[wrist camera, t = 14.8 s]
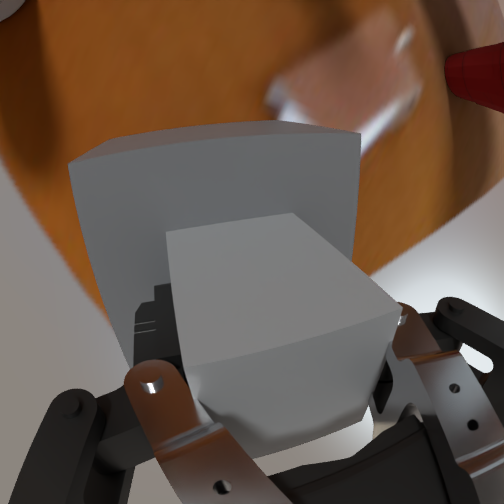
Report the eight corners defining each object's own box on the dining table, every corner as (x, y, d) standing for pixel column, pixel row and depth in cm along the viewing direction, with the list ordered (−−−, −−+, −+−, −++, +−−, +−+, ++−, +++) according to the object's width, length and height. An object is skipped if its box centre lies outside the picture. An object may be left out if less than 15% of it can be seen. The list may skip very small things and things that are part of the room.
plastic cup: (429, 21, 23) (512, 14, 12) (477, 55, 26) (547, 61, 15) (427, 101, 27) (516, 114, 16) (474, 125, 30) (546, 143, 20)
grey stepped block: (276, 120, 18) (498, 173, 5) (278, 263, 23) (402, 427, 10) (109, 139, 15) (-35, 241, 3) (139, 288, 20) (151, 504, 7)
